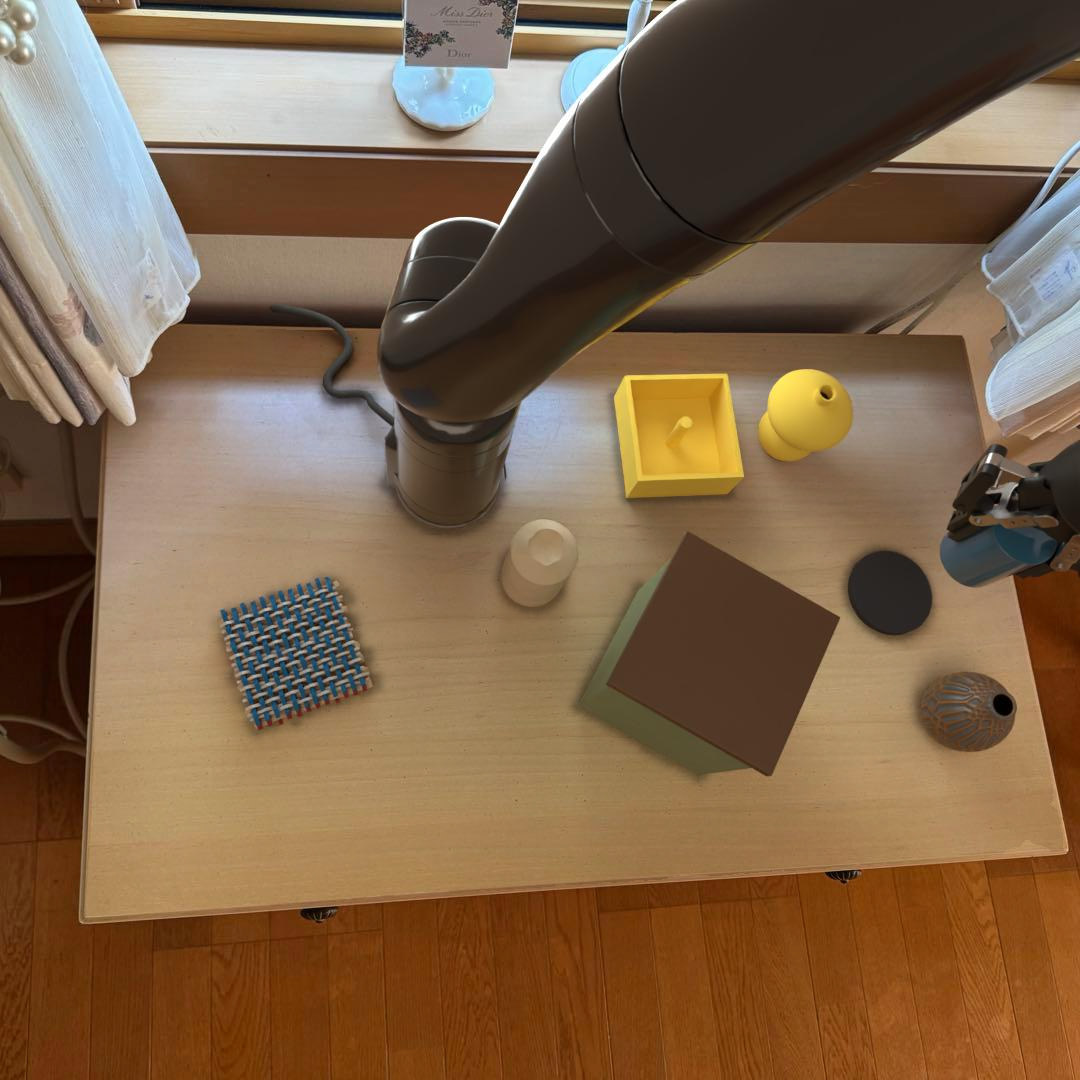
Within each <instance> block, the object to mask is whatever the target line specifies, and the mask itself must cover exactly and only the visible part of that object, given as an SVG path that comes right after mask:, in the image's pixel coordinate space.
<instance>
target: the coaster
mask: <svg viewBox="0 0 1080 1080" xmlns="http://www.w3.org/2000/svg"><path fill="white" fill-rule="evenodd" d="M847 583H848V584H847V592H848V600H849V603H850V605H851V607H852V609H853V611H854V613H855V614H856V615H857V617H858V618H859V620H861V622H862V623H863V624H865V625H866V626H867V627H868V628H869V629H871V630H873V631H876V632H877V633H879V634H883V635H887V636H901V635H906V634H908V633H911V632H913V631H915V630H917V629H918V628H920V627H921V626H922V625H924V623H925V622H926V620H927V619H928V617H929V615H930V613H931V609H932V606H933V605H932V604H933V591H932V587H931V584H930V581H929V579H928V577H927V575H926V574H925V572H924V571H923V569H922V568H921V567H920V566H919V565H918V564H917V563H916V562H915V561H914V560H912V559H911V558H910V557H908V556H906V555H904V554H902V553H899V552H896V551H892V550H891V551H890V550H880V551H875V552H873V553H870V554H868V555H866V556H865V557H863V558H862V559H860V560H858V562H857V563H856V564H855V565H854V567H853V568H852V570H851V571H850V575H849V577H848V582H847Z"/></svg>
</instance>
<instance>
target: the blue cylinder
mask: <svg viewBox="0 0 1080 1080" xmlns="http://www.w3.org/2000/svg"><path fill="white" fill-rule="evenodd" d="M997 506H998V504H995V505H994V507H993V509H995V508H997ZM948 533H949V531H948V530H947V532H946V533H945V534H944V535H943V537H942V539H941V542H940V544H939V557H940V561H941V565H942V566H943V568H944V571H946V573H947V574H948V576H949V577H950V578H952V579H953V580H954V581H955V582H957V583H958V584H960V585H962V586H965V587H967V588H975V589H978V588H979V589H980V588H984V587H986V586H989V585H992V584H995V583H997V582H999V581H1001V580H1004V579H1007V578H1008V577H1011V576H1015V574H1016V573H1019V572H1021V571H1024V570H1026V569H1029V568H1031V567H1034V566H1036V565H1039V564H1041V563H1044V562H1045V561H1047V560H1048V559H1050V558H1051V557H1052V556H1053V554H1054V553H1055V551H1056V548H1057V545H1058V541H1056V540H1054V539H1053V538H1051V537H1050V536H1048V535H1047V534H1046V533H1045V532H1043V531H1041V530H1039V529H1036V528H1034V527H1031V526H1030V527H1021V528H1012V529H1005V528H1004V527H1003V526H1002V525H1001V524H999V525H990V526H983V528H982V529H981V530H979V531H978V532H976V533H974V534H972V535H970V536H968V537H966V538H964V539H962V540H960V541H958V542H955V541H953V540H951V539H950V538H948V537H947V536H948Z"/></svg>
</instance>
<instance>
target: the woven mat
mask: <svg viewBox="0 0 1080 1080" xmlns="http://www.w3.org/2000/svg"><path fill="white" fill-rule="evenodd" d="M324 581H325V585H322V582H321V580H320V577H316V578H314V582H315V584H316V587H315V588H313V586H312V583H311V582H306V583H305V585H306V588H307V590H306V591H304V589H303V586H302V584H301V583H298V584H296V585H295V586H296V589H297V592H298V593H297V594H295V593H294V590H293V588H288V589H287V593H288V596H285V594H284V592H283V590H282V589H280V590H278V591H277V594H278V598H279V599H277V600H276V598H275V596H274V594H271V595H268V598H269V602H270V603H267V601H266V599H265V598H264V596H263V595H262V596H259V597H258V600H259V604H260V606H258V607H257V603H256V601H255V600H253V601H250V602H249V603H250V607H251V609H249V610H248V607H247V604H245V602H240V603H239V606H240V610H241V612H240V613H239V611H238V609H237V607H236V606H234V607H232V608H230V610H231V614H230V615H229V614H228V612H227V610H225V608H223V609H220V610H219V612H220V615H221V617H222V618H220V619H218V620H217V626H219V627H220V629H221V628H223V627H224V629H223V630H220V633H221V634H226V636H225V637H223V640H224V641H225V644H226V646H225V650H226V652H227V653H233V654H232V655H230V656H229V658H228V659H230V661H232V660H233V663H231V666H230V667H231V668H233V671H234V672H233V673H234V678H235V680H237V681H236V682H235V683H236V684H237V687H236V688H237V690H239V692H240V693H242V692H243V693H242V695H243V697H245V698H242V703H247V704H248V706H247V707H245V708H244V712H245V716H246V717H247V718H248V719H249V722H253V725H254V726H253V727H254V728H255V729H256V730H258V731H261V730H263V729H264V727H265V726H267V727H269V728H270V727H272V726H273V725H274V724H273V723H274V722H276V721H277V722H278V725H279V726H282V725H284V719H287V720H291V719H293V716H296V715H297V718H301V717H303V713H304V712H306V713H310V712H312V709H314V708H315V709H316V710H318V709H320V708H322V707H321V706H322V705H325V706H329V705H331V702H333V701H335V704H339V703H341V698H344V699H349V698H350V695H352V694H353V696H354V697H356V696H359V692H361V691H363V693H365V692H367V691H368V689H369V688H373V687H374V685H373V682H372V680H371V678H370V676H369V675H370V672H369V667H368V666H365V665H361V666H360V664H362V663H365V662H366V661H365V658H364V655H363V653H361V651H359V650H360V647H361V644H360V642H358V641H357V640H352V639H354V636H353V633H352V631H354V627H352V625H351V622H349V621H348V618H347V617H346V616H344V617H343V614H345V613H348V612H349V611H348V609H349V608H348V606H346V605H343V604H342V603H343V602H345V600H344V597H343V594H340V595H339V592H338V591H334V590H337V588H338V587H339V586H340V582H338V581H337V580H334V581H332V582H331V580H330V577H329V575H327V576H325V577H324ZM319 596H320V597H319ZM317 597H318V598H317ZM310 599H311V600H310ZM307 600H309V601H307ZM298 603H301V604H298ZM289 605H291V606H290V607H289ZM279 609H281V610H279ZM271 612H273V613H271ZM270 613H271V614H270ZM261 615H263V616H261ZM336 617H337V618H338V619H335V618H336ZM253 618H254V619H253ZM252 619H253V620H252ZM326 621H328V622H327V623H325V622H326ZM242 622H244V623H242ZM232 624H235V625H233V626H232ZM318 624H319V625H318ZM316 625H317V626H316ZM309 627H310V628H309ZM306 628H309V629H306ZM236 629H237V630H236ZM267 631H268V632H267ZM298 631H300V632H298ZM288 634H291V635H289V636H288ZM280 636H281V638H280V639H278V638H279V637H280ZM270 641H271V642H270ZM344 641H345V643H342V642H344ZM260 644H262V645H260ZM334 645H336V646H335V647H333V646H334ZM251 647H252V648H251ZM325 649H326V650H325ZM242 650H243V651H242ZM240 651H242V652H240ZM315 652H318V653H315ZM307 655H308V656H307ZM305 656H306V657H305ZM287 662H288V663H287ZM277 665H279V666H277ZM353 666H354V668H353V669H351V667H353ZM268 669H269V670H268ZM342 669H344V670H345V672H341V670H342ZM259 672H260V673H259ZM334 672H335V673H336V675H332V674H333V673H334ZM325 676H326V678H325V679H323V678H322V677H325ZM367 676H368V677H367ZM365 677H366V678H365ZM357 679H358V680H357ZM314 680H316V682H313V681H314ZM306 683H307V685H304V684H306ZM297 686H298V687H297ZM295 687H297V689H294V688H295ZM285 690H288V692H285ZM244 691H245V692H244ZM277 693H278V695H275V694H277ZM267 697H269V698H268V699H266V698H267ZM258 700H259V702H257V703H256V701H258Z"/></svg>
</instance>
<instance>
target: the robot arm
mask: <svg viewBox="0 0 1080 1080" xmlns="http://www.w3.org/2000/svg"><path fill="white" fill-rule="evenodd" d="M1079 59H1080V0H676V1H674V2H673V3H672V4H670V5H669V6H668V7H667V8H665V9H664V10H663V11H662V12H661V13H660V14H658V15H656V17H655V18H654V19H653V20H652V21H650V23H648V24H646V26H645V27H644V28H643V29H642V30H641V31H640V32H639V33H638V34H637V35H636V36H635V37H634V38H633V39H632V40H631V41H630V42H629V43H628V45H627V46H625V47H624V49H623V50H622V51H621V52H619V54H618V55H617V56H616V57H615V58H614V59H613V60H612V61H611V62H609V64H608V65H607V66H606V67H605V68H604V69H603V70H602V71H601V73H600V74H599V75H598V76H597V77H596V78H595V79H594V80H593V81H592V82H591V83H590V84H589V85H588V86H587V87H586V88H585V90H583V92H582V93H581V95H579V97H578V98H577V100H576V101H575V102H574V103H573V104H572V105H571V106H570V108H569V109H568V110H567V112H566V113H565V115H564V116H563V117H562V118H561V120H560V121H559V123H557V125H556V126H555V127H554V129H553V131H552V132H551V134H550V135H549V137H548V139H547V140H546V142H545V143H544V145H543V147H542V148H541V150H540V151H539V153H538V155H537V156H536V158H535V160H534V162H533V163H532V165H531V167H530V169H529V170H528V172H527V174H526V175H525V178H524V179H523V181H522V182H521V184H520V187H519V189H518V190H517V192H516V194H515V195H514V196H513V198H512V200H511V202H510V204H509V205H508V207H507V209H506V211H505V214H504V215H503V217H502V219H501V221H500V223H499V224H498V223H495V222H493V221H490V220H488V219H482V218H478V217H470V216H468V217H467V216H458V217H450V218H446V219H442V220H439V221H436V222H434V223H431V224H430V225H428V226H427V227H425V228H424V229H422V230H421V231H420V232H418V234H416V236H414V238H413V239H412V241H411V242H410V244H409V245H408V246H407V249H406V250H405V251H406V252H405V254H404V257H403V260H402V263H401V266H400V268H399V272H398V275H397V279H396V281H395V284H394V287H393V290H392V293H391V296H390V299H389V302H388V305H387V308H386V312H385V313H384V317H383V320H382V322H381V326H380V329H379V335H378V340H377V344H376V345H377V346H376V361H377V369H378V374H379V376H380V379H381V380H382V383H383V384H384V386H385V388H386V390H387V392H389V394H390V395H391V397H392V403H393V415H392V414H391V413H390V412H388V411H387V410H386V409H385V408H384V407H382V405H380V404H379V403H378V402H377V401H376V400H375V398H374V396H373V395H372V394H371V393H370V392H368V391H365V390H363V389H361V390H360V389H346V390H341V389H335V388H334V387H333V385H332V379H333V378H334V376H335V374H336V373H337V372H338V371H339V370H340V368H341V367H342V366H343V365H345V363H346V362H347V361H348V359H349V358H350V357H351V355H352V352H353V349H354V343H353V340H352V338H351V336H350V334H349V332H348V331H347V330H346V328H344V327H343V326H342V325H341V324H340V323H339V322H338V321H336V320H334V319H333V318H331V317H330V316H327V315H325V314H322V313H320V312H318V311H317V312H316V311H314V310H310V309H306V308H301V307H297V306H292V305H286V304H278V303H272V304H270V305H269V306H268V307H269V308H268V309H269V310H270V311H271V312H272V313H277V314H285V315H291V316H297V317H301V318H306V319H309V320H313V321H316V322H319V323H321V324H324V325H326V326H328V327H329V328H331V329H332V330H333V331H334V332H335V333H337V335H339V336H340V338H341V339H342V341H343V344H344V348H343V351H342V352H341V354H340V355H339V356H338V357H337V358H336V359H335V360H334V362H332V364H331V365H329V367H328V368H327V369H326V370H325V373H324V374H323V377H322V387H323V390H324V392H326V394H327V395H328V396H330V397H331V398H334V399H340V400H342V399H344V400H345V399H361V400H363V401H365V403H366V404H367V406H368V407H369V409H370V410H371V411H372V412H374V413H375V415H377V416H378V417H379V418H381V419H382V420H383V421H384V422H386V423H387V424H388V425H389V426H390V427H391V428H390V429H389V431H388V432H387V434H386V435H385V437H384V455H385V457H384V458H385V470H386V471H385V472H386V483H387V485H388V486H389V487H391V488H393V489H394V490H395V491H396V494H397V497H398V499H399V502H400V504H401V505H402V507H403V508H404V510H405V511H406V512H407V513H408V515H410V516H411V518H413V519H414V520H415V521H417V522H419V523H421V524H422V525H423V526H426V527H428V528H432V529H435V530H440V531H455V530H462V529H464V528H468V527H470V526H472V525H475V524H476V523H478V522H479V521H481V520H482V519H483V518H484V517H486V515H487V514H488V513H489V512H490V511H491V509H492V508H493V506H494V504H495V503H496V500H497V497H498V495H499V491H500V486H501V485H500V484H501V479H502V475H503V476H504V481H507V467H506V460H507V456H508V453H509V449H510V445H511V442H512V438H513V435H514V430H515V426H516V422H517V420H518V415H519V412H520V408H521V406H522V402H523V401H524V400H525V399H526V398H528V397H529V396H530V395H531V394H532V393H533V392H535V391H536V390H537V389H538V388H539V387H541V385H543V384H544V383H545V382H547V380H549V379H550V378H551V377H552V376H554V374H555V373H557V372H558V371H559V370H561V368H563V367H564V366H565V365H566V364H567V363H569V362H570V361H571V360H573V359H574V358H575V357H576V356H577V355H579V354H581V353H582V352H583V351H584V350H586V349H587V348H588V347H590V346H591V345H593V344H594V343H596V342H598V341H599V340H601V339H602V338H603V337H605V336H607V335H608V334H610V333H612V332H613V331H615V330H617V329H618V328H620V327H622V326H623V325H624V324H626V323H627V322H628V321H630V320H632V319H633V318H635V317H637V316H638V315H639V314H641V313H643V312H644V311H645V310H647V309H649V308H650V307H652V306H653V305H655V304H656V303H658V302H659V301H661V300H662V299H663V298H664V299H665V297H667V296H669V295H670V294H672V293H673V292H676V291H677V290H679V289H680V288H682V287H684V286H685V285H687V284H689V283H691V282H693V281H695V280H697V279H699V278H700V277H702V276H704V275H707V274H708V273H709V272H712V271H714V270H715V269H717V268H719V267H720V266H722V265H724V264H726V263H727V262H729V261H730V260H732V259H734V258H735V257H737V256H738V255H740V254H742V253H743V252H745V251H747V250H748V249H750V248H752V247H754V246H755V245H756V244H758V243H760V242H762V241H764V240H765V239H766V238H768V237H770V236H771V235H772V234H775V232H778V231H779V230H780V229H782V228H783V227H784V226H786V225H788V224H789V223H791V222H792V221H794V220H795V219H796V218H798V217H799V216H800V215H802V214H803V213H805V212H806V211H808V210H810V209H811V208H812V207H814V206H815V205H817V204H818V203H820V202H822V201H824V200H825V199H826V198H828V197H830V196H832V195H833V194H835V193H837V192H838V191H840V190H841V189H844V188H845V187H847V186H849V185H851V184H852V183H854V182H855V181H858V180H859V179H860V178H862V177H864V176H866V175H868V174H869V173H871V172H873V171H875V170H877V169H878V168H880V167H882V166H884V165H885V164H887V163H889V162H890V161H892V160H894V159H895V158H898V157H899V156H901V155H902V154H905V153H906V152H908V151H909V150H911V149H913V148H915V147H917V146H919V145H920V144H922V143H924V142H926V141H927V140H928V139H930V138H932V137H933V136H935V135H937V134H939V133H941V132H942V131H945V129H947V128H948V127H950V126H952V125H954V124H956V123H957V122H960V121H961V120H962V119H965V118H966V117H968V116H970V115H972V114H973V113H975V112H977V111H978V110H980V109H982V108H984V107H985V106H988V105H989V104H991V103H993V102H995V101H997V100H999V99H1001V98H1002V97H1004V96H1006V95H1008V94H1011V93H1012V92H1014V91H1016V90H1018V89H1021V88H1022V87H1024V86H1026V85H1028V84H1030V83H1033V82H1035V81H1036V80H1038V79H1040V78H1043V77H1044V76H1046V75H1048V74H1051V73H1052V72H1054V71H1056V70H1058V69H1061V68H1062V67H1064V66H1066V65H1068V64H1070V63H1072V62H1075V61H1077V60H1079ZM1008 452H1009V451H1008V448H1007V447H1006V446H1004V445H1002V444H998V443H994V444H990V445H989V446H988V448H987V449H986V450H985V451H984V452H983V454H982V455H981V456H980V457H979V458H977V460H976V462H975V463H974V464H973V465H972V467H971V468H970V469H969V470H968V471H967V473H966V474H965V475H964V476H963V477H962V480H961V482H960V486H959V489H958V491H957V493H956V496H955V497H954V499H953V502H952V504H951V505H952V508H953V509H954V511H953V512H952V514H951V516H950V519H949V521H948V524H947V527H946V531H947V532H948V531H949V533H948V536H947V537H948V538H950V539H951V540H953V541H955V542H958V541H960V540H962V539H964V538H966V537H968V536H970V535H972V534H974V533H976V532H978V531H979V530H981V529H982V528H983V526H990V525H999V524H1001V525H1002V526H1003V527H1004V528H1005V529H1012V528H1021V527H1030V526H1031V527H1034V528H1036V529H1039V530H1041V531H1043V532H1045V533H1046V534H1047V535H1048V536H1050V537H1051V538H1053V539H1054V540H1056V541H1058V545H1057V548H1056V551H1055V553H1054V554H1053V556H1052V557H1051V558H1050V559H1048V560H1047V561H1045V562H1044V563H1041V564H1039V565H1036V566H1034V567H1031V568H1029V569H1026V570H1024V571H1021V572H1019V573H1016V574H1014V576H1017V578H1020V579H1021V580H1025V579H1027V578H1041V577H1043V576H1045V575H1048V574H1050V573H1052V572H1055V571H1057V572H1061V573H1065V572H1068V571H1069V570H1071V571H1074V572H1078V574H1077V577H1078V578H1079V579H1080V439H1078V440H1075V442H1072V443H1070V444H1069V445H1068V446H1066V447H1064V449H1062V450H1061V451H1060V452H1059V453H1058V454H1056V455H1055V456H1054V457H1052V459H1050V460H1047V461H1038V462H1034V463H1033V462H1032V463H1030V464H1028V465H1025V464H1021V463H1019V462H1016V461H1014V460H1012V459H1010V458H1007V455H1008ZM1003 485H1004V486H1003ZM999 486H1003V487H999ZM995 505H998V506H997V508H995V509H993V507H994V506H995Z"/></svg>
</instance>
